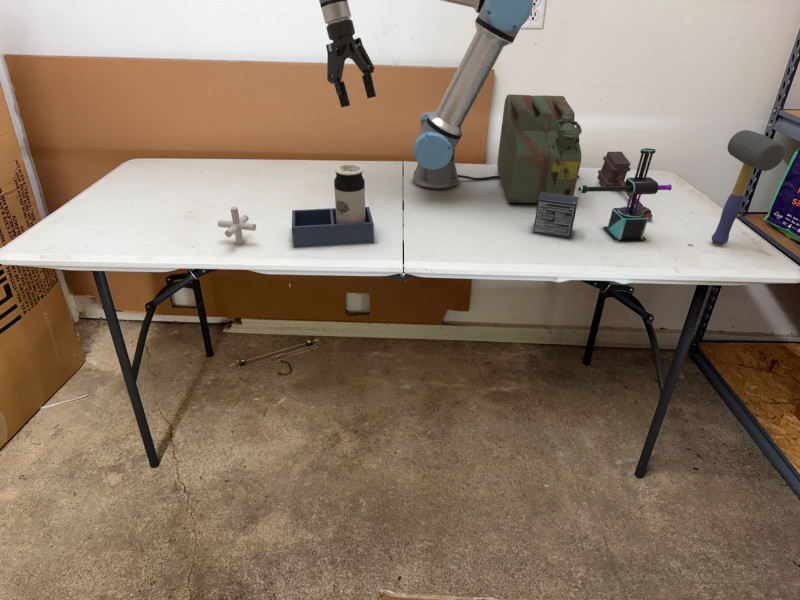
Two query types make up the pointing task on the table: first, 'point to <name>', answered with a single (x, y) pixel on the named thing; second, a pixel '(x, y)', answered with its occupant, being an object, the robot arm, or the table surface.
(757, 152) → the rubber mallet
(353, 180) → the travel mug
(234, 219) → the pipe connector
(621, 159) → the hammer
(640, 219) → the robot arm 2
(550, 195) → the small box
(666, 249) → the table surface
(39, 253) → the table surface
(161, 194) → the table surface
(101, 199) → the table surface
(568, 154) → the fuel can
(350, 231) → the divided storage bin
